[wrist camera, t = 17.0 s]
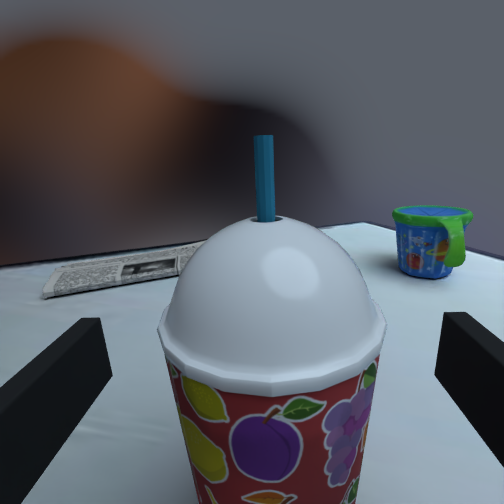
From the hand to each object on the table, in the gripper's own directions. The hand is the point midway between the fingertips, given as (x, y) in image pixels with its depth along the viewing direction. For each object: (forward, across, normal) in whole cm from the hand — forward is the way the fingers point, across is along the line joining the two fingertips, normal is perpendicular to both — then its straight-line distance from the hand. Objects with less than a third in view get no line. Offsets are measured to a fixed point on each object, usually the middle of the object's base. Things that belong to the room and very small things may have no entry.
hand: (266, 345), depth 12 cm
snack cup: (+38, +25, -12) cm, 47 cm away
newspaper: (+43, -21, -12) cm, 50 cm away
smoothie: (0, 0, -12) cm, 13 cm away
